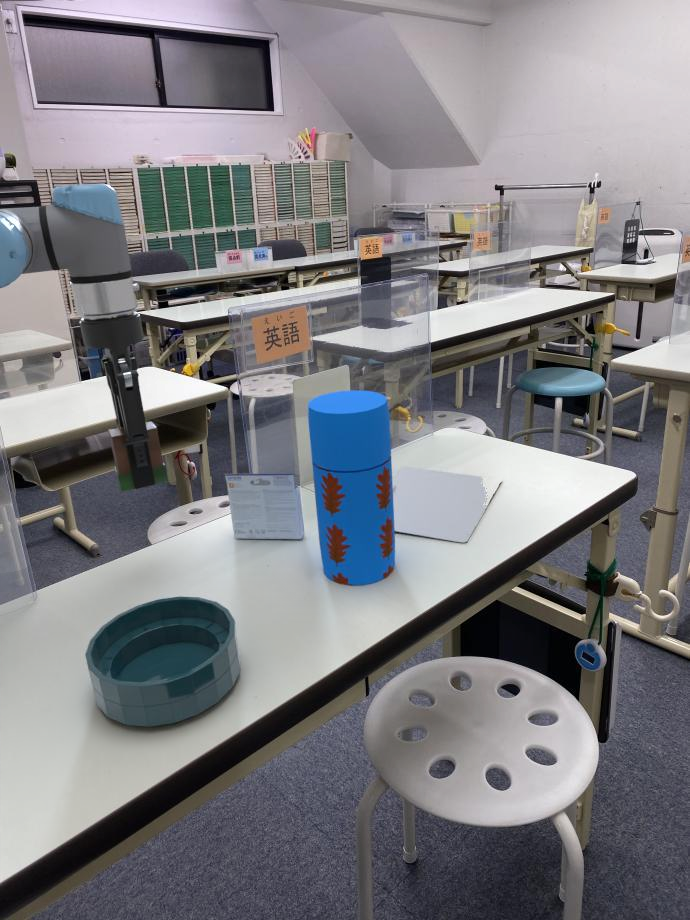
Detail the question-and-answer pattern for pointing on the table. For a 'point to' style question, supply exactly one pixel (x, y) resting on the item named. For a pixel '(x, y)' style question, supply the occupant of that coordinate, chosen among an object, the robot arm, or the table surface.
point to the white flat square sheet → (437, 503)
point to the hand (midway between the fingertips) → (142, 480)
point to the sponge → (122, 457)
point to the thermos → (353, 485)
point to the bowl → (164, 660)
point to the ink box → (265, 506)
